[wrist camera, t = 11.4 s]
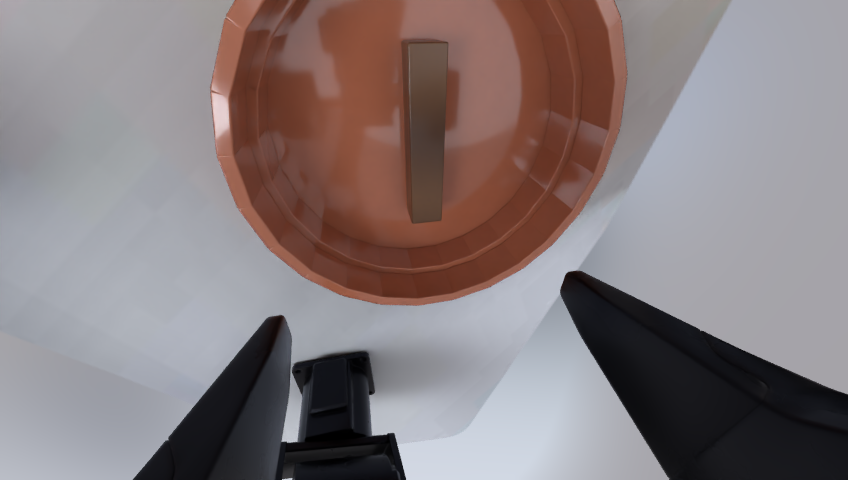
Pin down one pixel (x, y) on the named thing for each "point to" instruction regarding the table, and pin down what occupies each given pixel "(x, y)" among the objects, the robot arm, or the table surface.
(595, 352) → the robot arm
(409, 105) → the brown long rectangular block
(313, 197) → the bowl
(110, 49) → the table surface
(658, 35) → the table surface
